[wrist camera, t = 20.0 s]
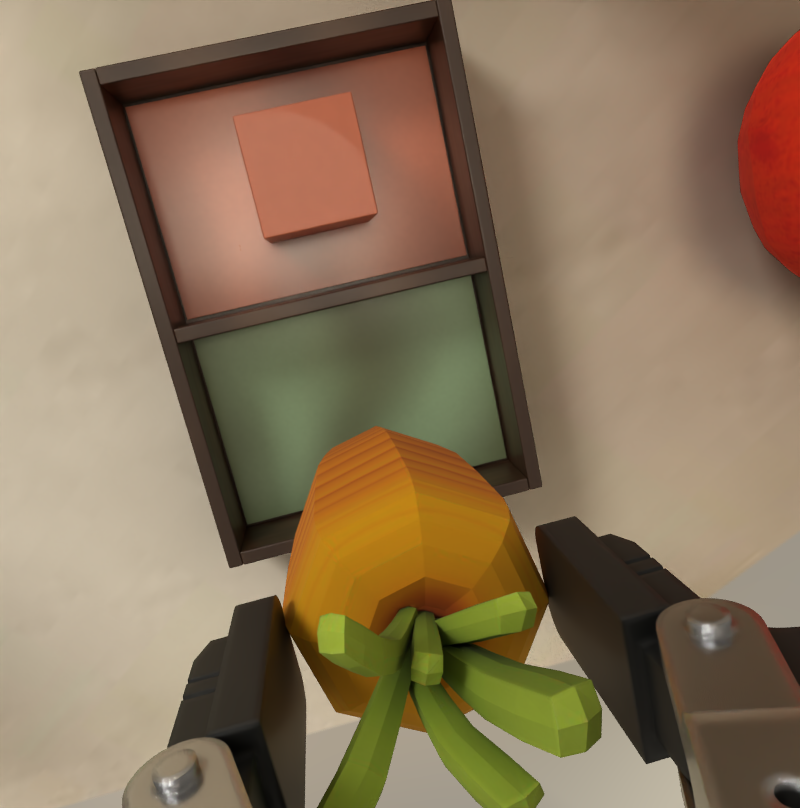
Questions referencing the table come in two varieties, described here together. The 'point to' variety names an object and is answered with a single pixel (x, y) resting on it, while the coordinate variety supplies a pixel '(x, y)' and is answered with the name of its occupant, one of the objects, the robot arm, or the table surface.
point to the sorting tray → (318, 264)
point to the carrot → (426, 620)
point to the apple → (774, 156)
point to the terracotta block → (306, 167)
